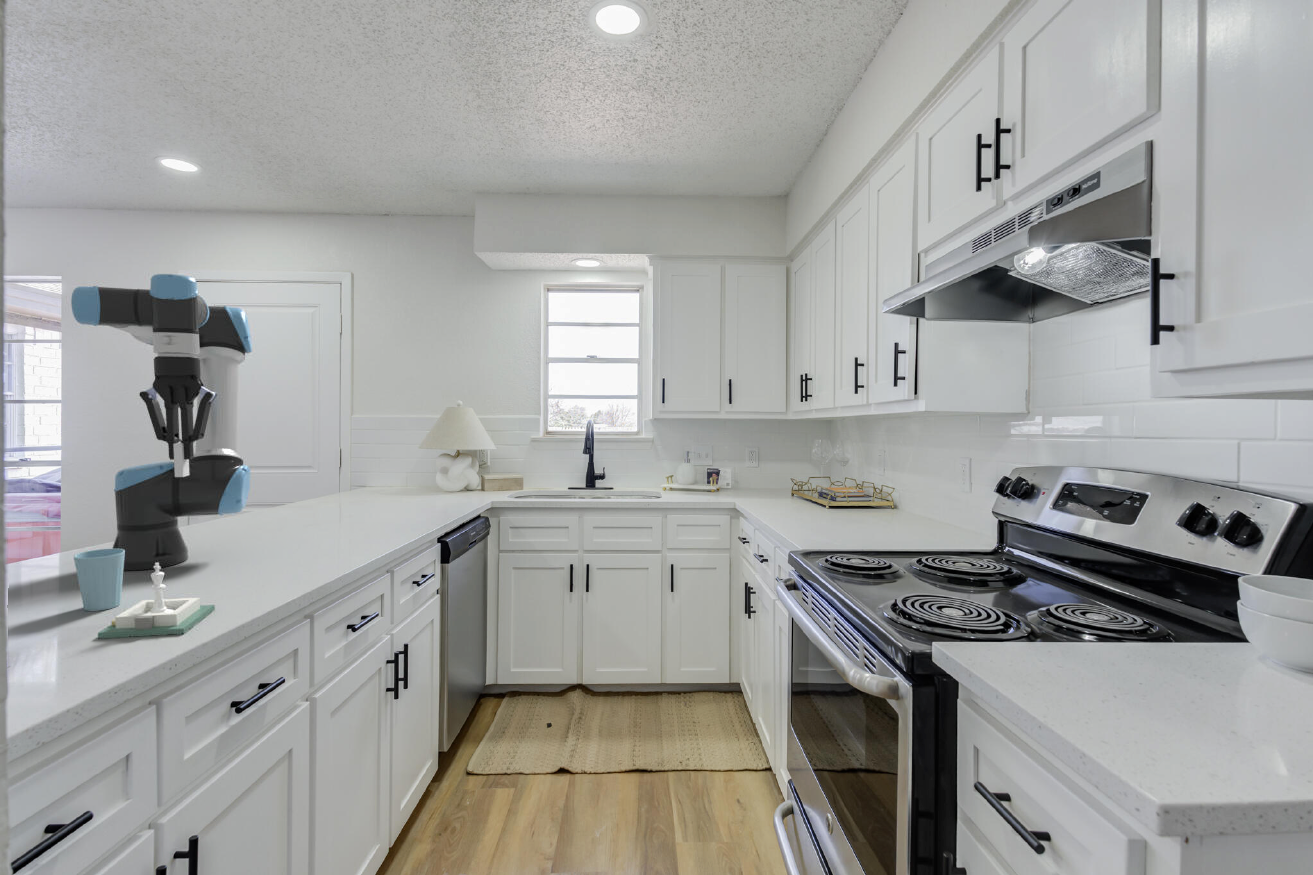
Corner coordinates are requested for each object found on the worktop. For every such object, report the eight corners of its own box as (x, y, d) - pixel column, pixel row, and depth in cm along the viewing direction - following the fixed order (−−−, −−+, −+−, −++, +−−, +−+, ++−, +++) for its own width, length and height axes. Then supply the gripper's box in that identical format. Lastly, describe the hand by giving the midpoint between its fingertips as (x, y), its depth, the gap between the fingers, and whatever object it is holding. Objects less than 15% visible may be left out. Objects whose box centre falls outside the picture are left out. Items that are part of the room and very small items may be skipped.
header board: (137, 613, 132) (136, 597, 132) (214, 609, 135) (214, 594, 135) (98, 638, 120) (97, 621, 119) (184, 634, 122) (183, 617, 122)
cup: (121, 610, 134) (118, 555, 133) (70, 615, 131) (67, 559, 130) (132, 598, 141) (129, 546, 140) (84, 603, 138) (81, 550, 137)
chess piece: (150, 624, 124) (147, 568, 123) (137, 618, 127) (134, 563, 126) (181, 616, 128) (179, 562, 127) (168, 611, 131) (165, 558, 130)
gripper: (129, 354, 134) (135, 479, 136) (206, 355, 136) (210, 478, 138) (149, 355, 141) (154, 474, 143) (221, 357, 144) (226, 473, 146)
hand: (182, 475), depth 141 cm, fingers closed
